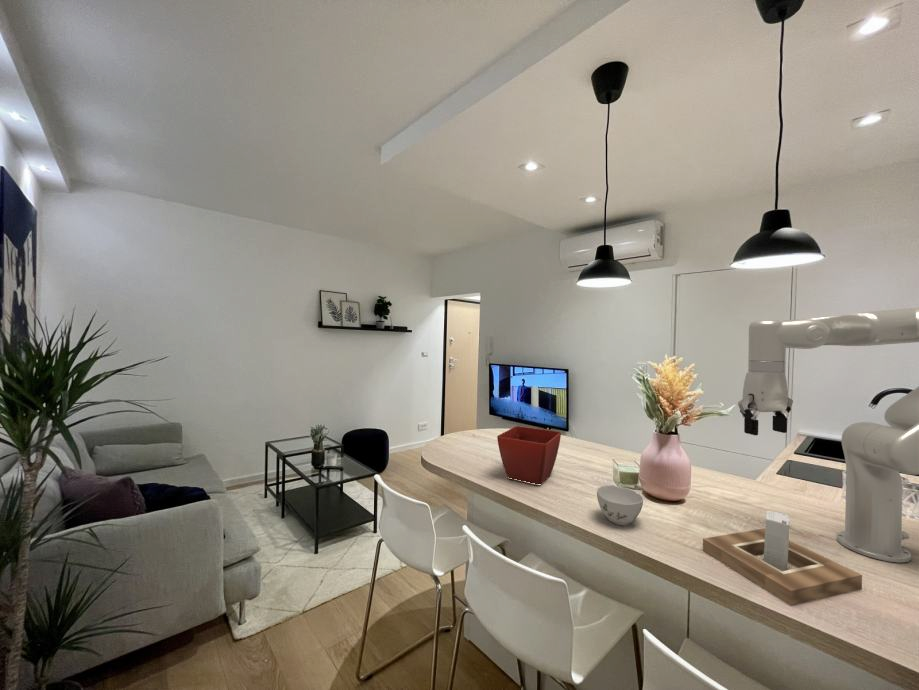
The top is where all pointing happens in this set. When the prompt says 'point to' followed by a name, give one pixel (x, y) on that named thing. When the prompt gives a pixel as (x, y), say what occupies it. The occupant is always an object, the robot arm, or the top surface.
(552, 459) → the plant pot
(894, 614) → the top surface
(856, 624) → the top surface
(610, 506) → the teacup
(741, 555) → the picture frame
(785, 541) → the skincare box
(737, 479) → the top surface
